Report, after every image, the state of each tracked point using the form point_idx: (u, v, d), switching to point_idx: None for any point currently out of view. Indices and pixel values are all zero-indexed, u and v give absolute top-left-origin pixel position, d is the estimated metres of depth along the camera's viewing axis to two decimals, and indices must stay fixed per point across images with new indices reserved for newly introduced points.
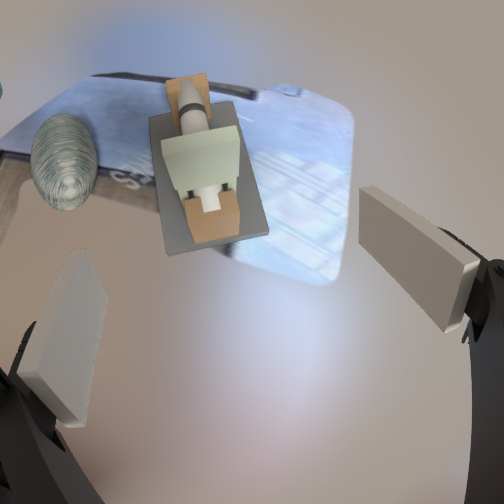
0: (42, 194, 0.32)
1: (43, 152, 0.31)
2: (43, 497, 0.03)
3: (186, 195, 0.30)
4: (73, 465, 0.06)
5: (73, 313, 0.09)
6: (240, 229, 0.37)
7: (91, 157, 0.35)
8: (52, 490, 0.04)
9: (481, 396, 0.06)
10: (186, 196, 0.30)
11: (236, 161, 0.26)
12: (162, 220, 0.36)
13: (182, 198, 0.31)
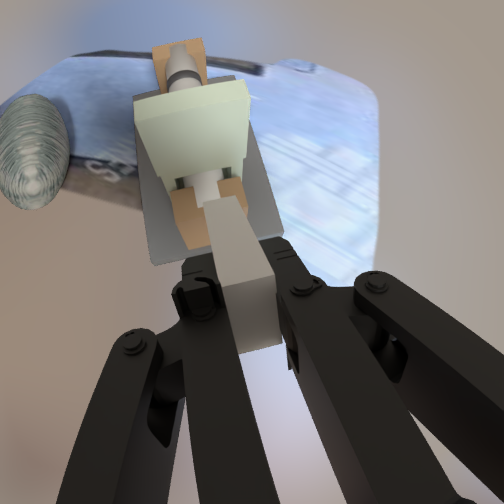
0: (2, 190, 0.24)
1: (4, 138, 0.23)
2: (232, 432, 0.05)
3: (174, 184, 0.22)
4: None
5: None
6: None
7: (61, 143, 0.26)
8: (247, 428, 0.05)
9: (324, 435, 0.06)
10: (174, 186, 0.22)
11: (243, 133, 0.18)
12: (146, 219, 0.28)
13: (169, 189, 0.22)
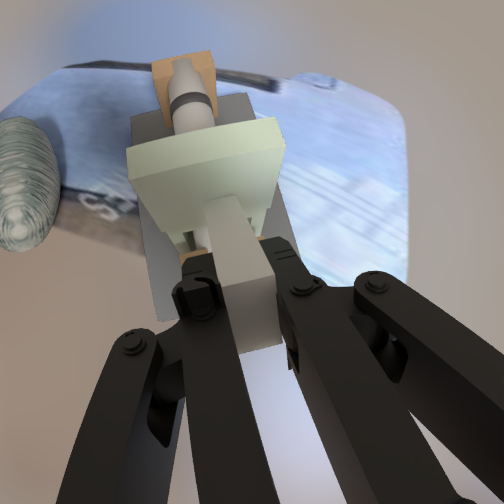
0: None
1: None
2: (231, 432, 0.05)
3: (182, 238, 0.18)
4: None
5: None
6: None
7: (49, 176, 0.23)
8: (247, 428, 0.05)
9: (325, 435, 0.06)
10: (182, 239, 0.19)
11: (271, 184, 0.15)
12: (150, 270, 0.24)
13: (175, 242, 0.19)
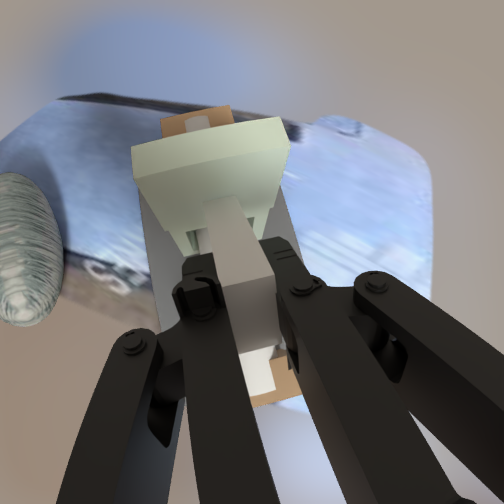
0: None
1: None
2: (232, 432, 0.05)
3: (184, 237, 0.18)
4: None
5: None
6: None
7: (50, 250, 0.21)
8: (247, 428, 0.05)
9: (324, 435, 0.06)
10: (184, 238, 0.19)
11: (275, 184, 0.15)
12: None
13: (178, 241, 0.19)
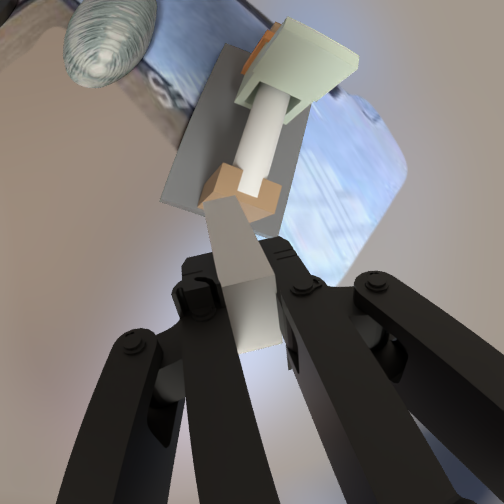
0: (66, 52, 0.21)
1: (98, 7, 0.20)
2: (232, 432, 0.05)
3: (254, 85, 0.25)
4: None
5: None
6: None
7: (144, 45, 0.25)
8: (247, 428, 0.05)
9: (324, 435, 0.06)
10: (253, 86, 0.25)
11: (331, 85, 0.22)
12: (176, 160, 0.29)
13: (247, 85, 0.25)
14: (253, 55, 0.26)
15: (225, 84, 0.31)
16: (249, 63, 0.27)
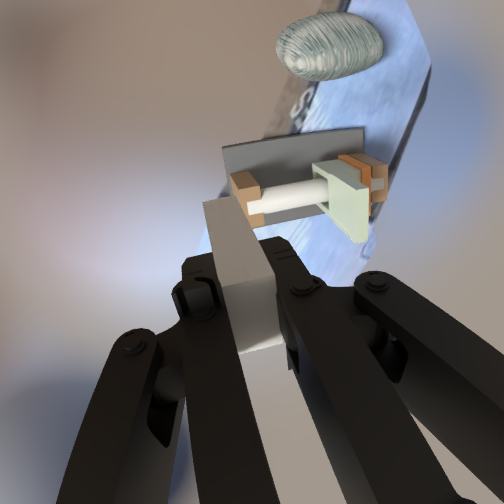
0: (293, 28, 0.29)
1: (338, 36, 0.28)
2: (232, 432, 0.05)
3: (324, 176, 0.36)
4: None
5: None
6: None
7: (326, 80, 0.34)
8: (247, 428, 0.05)
9: (324, 435, 0.06)
10: (324, 175, 0.37)
11: (342, 228, 0.35)
12: (253, 144, 0.39)
13: (323, 171, 0.37)
14: (350, 162, 0.37)
15: (327, 146, 0.42)
16: (345, 160, 0.38)
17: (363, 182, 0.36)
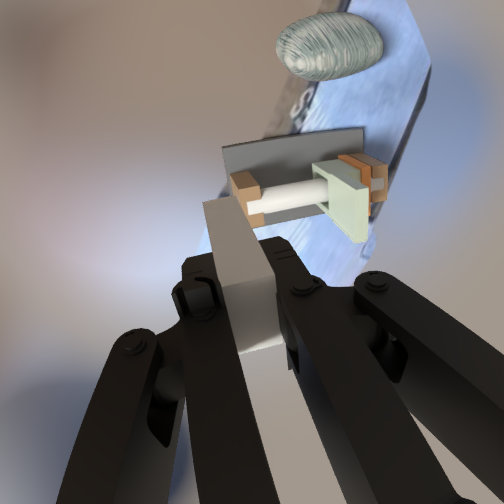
0: (293, 28, 0.30)
1: (338, 36, 0.28)
2: (231, 433, 0.05)
3: (324, 176, 0.36)
4: None
5: None
6: None
7: (326, 80, 0.34)
8: (247, 428, 0.05)
9: (324, 435, 0.06)
10: (323, 175, 0.37)
11: (342, 228, 0.35)
12: (253, 144, 0.40)
13: (322, 171, 0.37)
14: (350, 162, 0.37)
15: (327, 146, 0.42)
16: (345, 160, 0.38)
17: (363, 182, 0.36)
